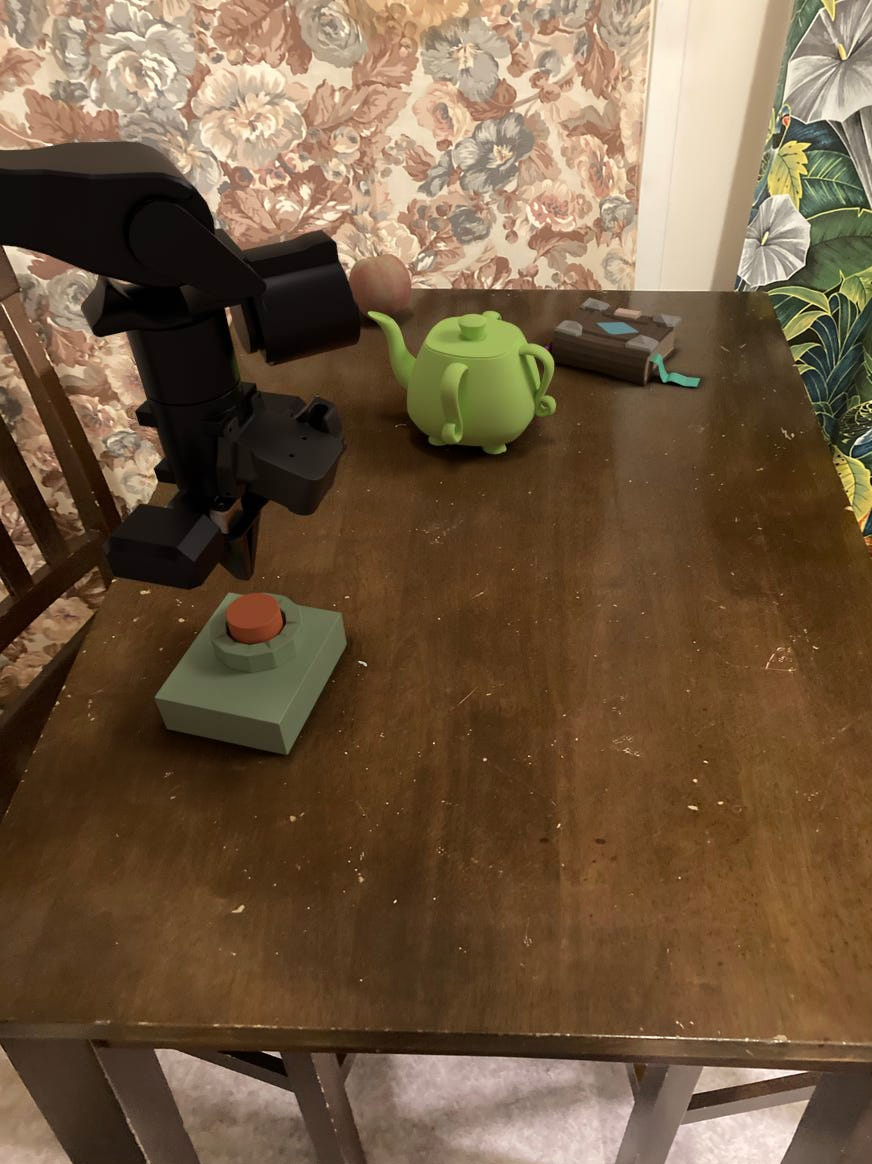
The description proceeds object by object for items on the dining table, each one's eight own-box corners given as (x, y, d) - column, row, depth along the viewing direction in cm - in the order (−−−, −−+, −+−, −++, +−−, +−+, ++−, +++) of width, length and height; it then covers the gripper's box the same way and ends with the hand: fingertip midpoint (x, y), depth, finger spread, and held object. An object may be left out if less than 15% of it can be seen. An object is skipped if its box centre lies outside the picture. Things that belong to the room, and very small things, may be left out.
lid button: (269, 649, 67) (265, 632, 66) (221, 640, 68) (216, 623, 66) (291, 613, 70) (287, 597, 68) (244, 605, 70) (240, 588, 69)
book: (723, 354, 109) (730, 314, 105) (688, 399, 101) (694, 358, 98) (575, 320, 116) (577, 282, 112) (532, 360, 109) (533, 320, 105)
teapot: (420, 483, 91) (412, 369, 82) (378, 415, 100) (366, 306, 91) (564, 448, 95) (570, 335, 86) (510, 385, 104) (511, 278, 95)
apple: (411, 302, 121) (406, 242, 115) (416, 328, 115) (411, 265, 110) (351, 307, 120) (344, 246, 114) (354, 333, 114) (346, 270, 109)
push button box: (287, 756, 66) (274, 707, 62) (166, 729, 68) (146, 680, 64) (347, 645, 74) (338, 595, 70) (237, 624, 76) (223, 575, 72)
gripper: (245, 488, 46) (295, 690, 57) (370, 327, 59) (392, 517, 70) (57, 459, 48) (140, 659, 59) (217, 310, 61) (261, 497, 72)
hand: (245, 577), depth 65 cm, fingers closed
